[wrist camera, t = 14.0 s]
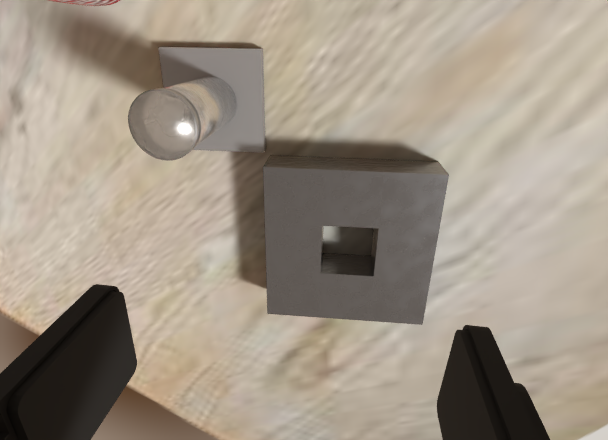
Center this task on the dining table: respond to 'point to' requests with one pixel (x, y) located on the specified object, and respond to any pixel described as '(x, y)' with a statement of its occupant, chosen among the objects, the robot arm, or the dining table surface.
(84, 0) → the soda can
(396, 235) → the housing
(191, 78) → the mat
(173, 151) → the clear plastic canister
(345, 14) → the dining table surface
